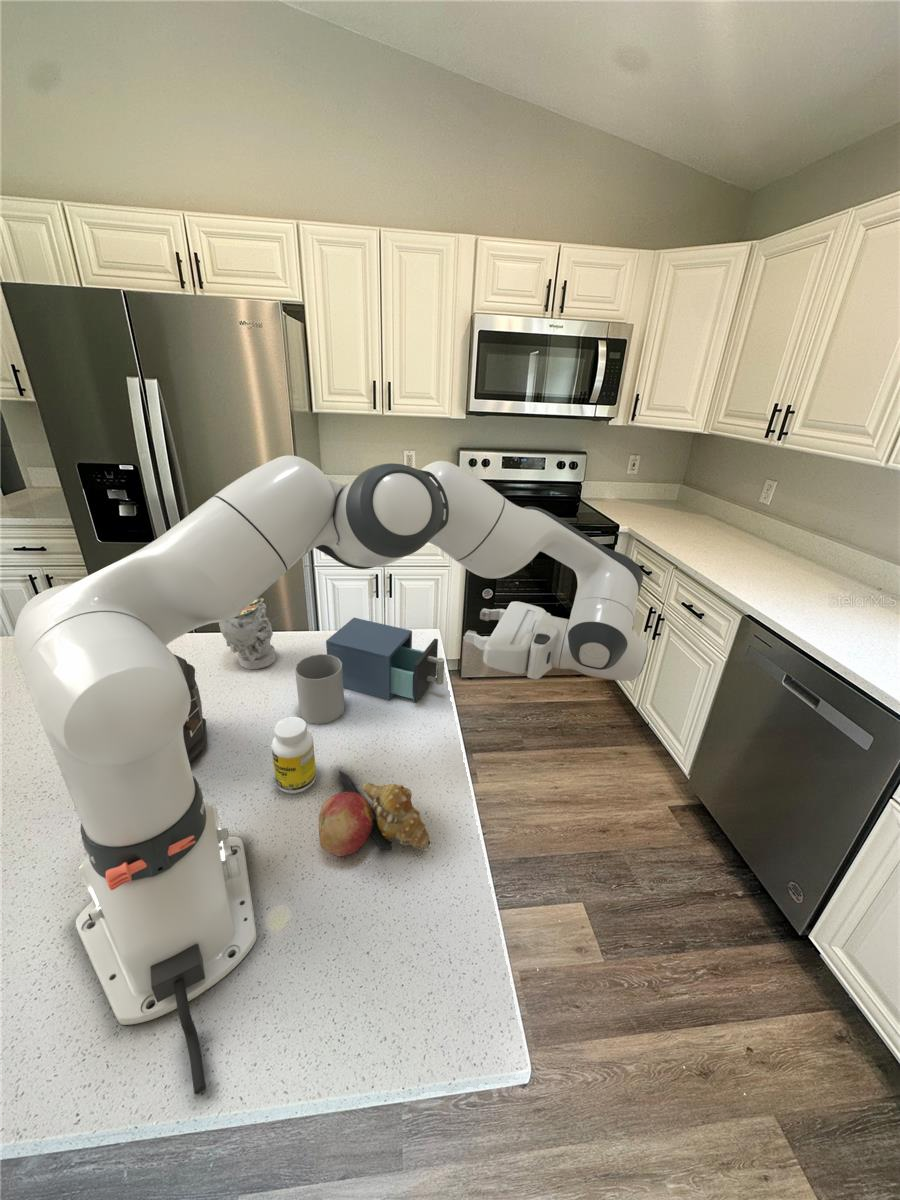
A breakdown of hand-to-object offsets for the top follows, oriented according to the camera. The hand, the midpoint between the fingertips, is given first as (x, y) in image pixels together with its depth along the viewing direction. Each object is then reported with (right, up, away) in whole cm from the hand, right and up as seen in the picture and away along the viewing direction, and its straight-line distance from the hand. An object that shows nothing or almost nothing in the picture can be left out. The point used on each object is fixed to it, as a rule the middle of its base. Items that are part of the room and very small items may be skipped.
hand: (473, 624), depth 91 cm
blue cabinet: (-21, -12, +14) cm, 29 cm away
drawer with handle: (-14, -13, +12) cm, 22 cm away
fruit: (-20, -24, -19) cm, 37 cm away
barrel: (-54, -22, -8) cm, 59 cm away
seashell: (-17, -27, -19) cm, 37 cm away
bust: (-44, -6, +26) cm, 52 cm away
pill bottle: (-29, -25, -12) cm, 40 cm away
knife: (-18, -27, -16) cm, 37 cm away
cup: (-29, -17, +4) cm, 34 cm away
